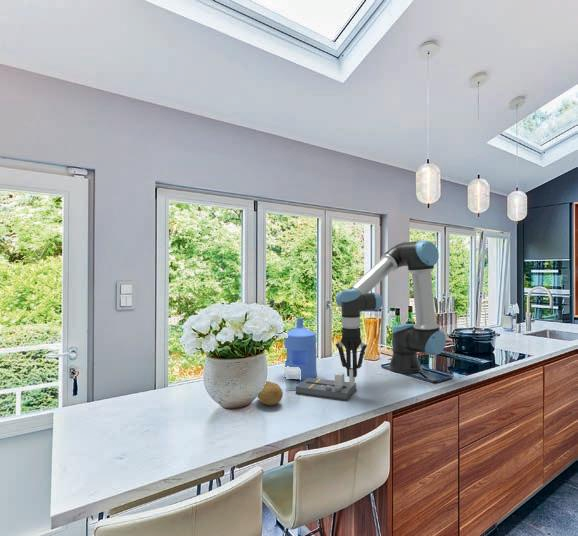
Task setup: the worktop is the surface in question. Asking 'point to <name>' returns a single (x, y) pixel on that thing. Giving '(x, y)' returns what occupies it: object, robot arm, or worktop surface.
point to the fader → (339, 379)
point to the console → (325, 389)
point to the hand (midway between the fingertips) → (352, 384)
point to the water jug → (301, 350)
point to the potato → (270, 393)
